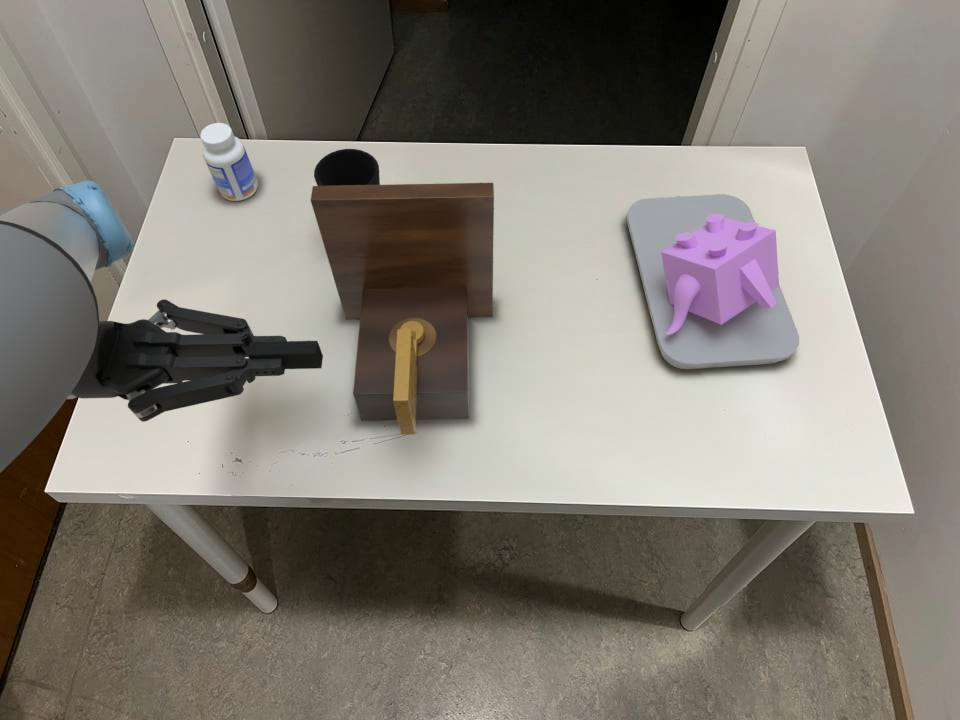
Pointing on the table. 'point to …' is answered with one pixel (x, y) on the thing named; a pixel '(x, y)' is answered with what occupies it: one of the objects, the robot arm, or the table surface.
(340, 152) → the cup
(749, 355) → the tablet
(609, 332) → the table surface
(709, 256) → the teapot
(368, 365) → the case
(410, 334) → the lever
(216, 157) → the pill bottle
